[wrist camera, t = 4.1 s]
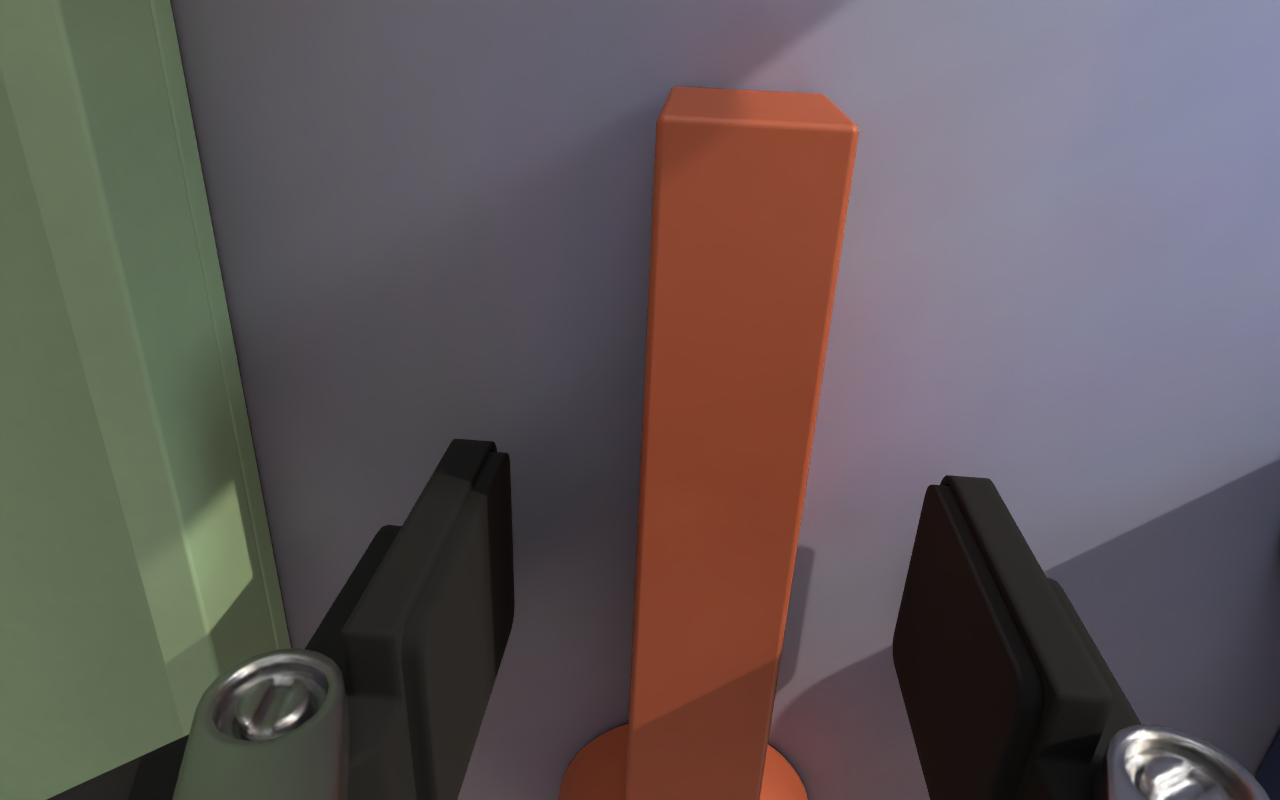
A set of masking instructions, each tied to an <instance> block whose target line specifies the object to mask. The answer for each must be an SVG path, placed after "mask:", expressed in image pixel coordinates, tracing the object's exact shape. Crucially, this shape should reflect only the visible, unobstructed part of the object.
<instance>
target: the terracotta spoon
mask: <svg viewBox="0 0 1280 800" xmlns="http://www.w3.org/2000/svg"><path fill="white" fill-rule="evenodd" d="M858 135H859V132H858V128H857V126H856V125H855V124H854V123H853V122H852V121H851V120H850V119H849V118H848V117H847V116H846V115H845V114H844V113H843V112H842V111H841V110H840V109H839V108H838V107H836V106H835V105H834V104H833V103H832V102H831V101H830V100H829V99H828V98H827V97H826V96H824V95H822V94H814V93H794V92H774V91H754V90H735V89H715V88H695V87H674V88H672V89H671V91H670V93H669V95H668V97H667V100H666V102H665V104H664V106H663V109H662V111H661V113H660V115H659V118H658V120H657V122H656V143H655V164H654V186H653V207H652V229H651V251H650V272H649V294H648V315H647V337H646V358H645V380H644V401H643V423H642V444H641V466H640V488H639V509H638V531H637V552H636V574H635V595H634V617H633V638H632V660H631V681H630V703H629V723H628V724H624V725H622V726H619V727H617V728H614V729H611V730H609V731H608V732H606V733H604V734H602V735H600V736H598V737H597V738H595V739H594V740H593V741H591V742H590V743H589V744H587V745H586V746H585V747H584V748H583V749H582V750H581V751H580V752H579V753H578V754H577V755H576V757H575V758H574V759H573V761H572V762H571V763H570V765H569V766H568V768H567V770H566V772H565V774H564V776H563V780H562V783H561V787H560V792H559V797H558V800H808V797H807V794H806V791H805V788H804V786H803V784H802V782H801V780H800V778H799V776H798V774H797V773H796V772H795V770H794V769H793V767H792V766H791V765H790V763H789V762H788V761H787V760H786V759H785V758H784V757H783V756H782V755H781V754H780V753H779V752H778V751H776V750H775V749H774V748H773V747H771V746H770V745H769V744H768V739H769V733H770V726H771V719H772V713H773V706H774V699H775V692H776V686H777V679H778V672H779V666H780V659H781V652H782V645H783V639H784V632H785V625H786V619H787V612H788V605H789V598H790V592H791V585H792V578H793V572H794V565H795V558H796V551H797V545H798V538H799V531H800V525H801V518H802V511H803V504H804V498H805V491H806V484H807V478H808V471H809V464H810V457H811V451H812V444H813V437H814V431H815V424H816V417H817V410H818V404H819V397H820V390H821V384H822V377H823V370H824V363H825V357H826V350H827V343H828V336H829V330H830V323H831V316H832V310H833V303H834V296H835V289H836V283H837V276H838V269H839V263H840V256H841V249H842V242H843V236H844V229H845V222H846V216H847V209H848V202H849V195H850V189H851V182H852V175H853V169H854V162H855V155H856V148H857V142H858Z"/></svg>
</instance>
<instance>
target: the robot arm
mask: <svg viewBox="0 0 1280 800" xmlns="http://www.w3.org/2000/svg"><path fill="white" fill-rule="evenodd" d="M513 617H514V573H513V543H512V512H511V482H510V459H509V455H508V453H502V452H497V449H496V445H495V443H494V442H491V441H477V440H464V439H454V440H453V441H452V442H451V444H450V445H449V447H448V449H447V451H446V452H445V454H444V456H443V457H442V459H441V461H440V462H439V464H438V466H437V468H436V469H435V471H434V473H433V474H432V476H431V478H430V480H429V481H428V483H427V485H426V486H425V488H424V490H423V492H422V493H421V495H420V497H419V498H418V500H417V502H416V504H415V505H414V507H413V509H412V510H411V512H410V514H409V516H408V517H407V519H406V521H405V522H404V524H403V526H393V525H386V526H384V527H382V528H381V529H380V530H379V532H378V533H377V534H376V536H375V537H374V539H373V540H372V542H371V544H370V545H369V547H368V549H367V550H366V552H365V553H364V555H363V557H362V558H361V560H360V561H359V563H358V565H357V566H356V568H355V569H354V571H353V573H352V574H351V576H350V577H349V579H348V581H347V582H346V584H345V585H344V587H343V589H342V590H341V592H340V593H339V595H338V597H337V598H336V600H335V601H334V603H333V605H332V606H331V608H330V610H329V611H328V613H327V614H326V616H325V618H324V619H323V621H322V622H321V624H320V626H319V627H318V629H317V630H316V632H315V634H314V635H313V637H312V638H311V640H310V642H309V643H308V645H307V646H306V648H305V649H279V650H275V651H271V652H267V653H262V654H258V655H256V656H253V657H251V658H249V659H247V660H244V661H242V662H240V663H238V664H236V665H234V666H233V667H231V668H230V669H228V670H227V671H226V672H224V673H223V674H221V675H220V676H218V677H217V678H216V679H215V680H214V682H213V683H212V684H211V685H210V686H209V687H208V688H207V689H206V690H205V691H204V693H203V695H202V697H201V699H200V701H199V703H198V705H197V707H196V710H195V714H194V717H193V721H192V725H191V729H190V733H189V734H188V735H186V736H184V737H182V738H179V739H177V740H175V741H173V742H171V743H169V744H166V745H164V746H162V747H160V748H158V749H155V750H153V751H151V752H149V753H147V754H145V755H142V756H140V757H138V758H136V759H134V760H132V761H129V762H127V763H125V764H123V765H121V766H118V767H116V768H114V769H112V770H110V771H108V772H105V773H103V774H101V775H99V776H97V777H94V778H92V779H90V780H88V781H86V782H84V783H81V784H79V785H77V786H75V787H73V788H70V789H68V790H66V791H64V792H62V793H60V794H57V795H55V796H53V797H51V798H49V799H46V800H457V798H458V795H459V792H460V789H461V786H462V783H463V780H464V776H465V773H466V770H467V767H468V764H469V761H470V758H471V754H472V751H473V748H474V745H475V742H476V739H477V736H478V732H479V729H480V726H481V723H482V720H483V717H484V714H485V711H486V707H487V704H488V701H489V698H490V695H491V692H492V689H493V685H494V682H495V679H496V676H497V673H498V670H499V667H500V663H501V660H502V657H503V654H504V651H505V648H506V645H507V641H508V638H509V635H510V632H511V628H512V624H513ZM893 660H894V665H895V669H896V673H897V677H898V680H899V684H900V688H901V692H902V695H903V699H904V703H905V707H906V710H907V714H908V718H909V722H910V725H911V729H912V733H913V737H914V740H915V744H916V748H917V752H918V755H919V759H920V763H921V766H922V770H923V774H924V778H925V781H926V785H927V789H928V793H929V796H930V800H1270V799H1269V797H1268V795H1267V793H1266V791H1265V790H1264V788H1263V787H1262V786H1261V785H1260V784H1259V782H1258V781H1257V780H1256V779H1255V778H1254V776H1253V775H1252V774H1251V773H1250V772H1249V771H1248V770H1247V769H1246V768H1245V767H1243V766H1242V765H1241V764H1240V763H1239V762H1237V761H1236V760H1235V759H1234V758H1232V757H1231V756H1230V755H1229V754H1227V753H1226V752H1224V751H1222V750H1221V749H1219V748H1217V747H1216V746H1214V745H1212V744H1211V743H1209V742H1207V741H1206V740H1204V739H1201V738H1199V737H1196V736H1194V735H1191V734H1189V733H1186V732H1184V731H1181V730H1178V729H1174V728H1169V727H1164V726H1160V725H1142V724H1141V722H1140V721H1139V719H1138V717H1137V716H1136V714H1135V712H1134V710H1133V709H1132V707H1131V705H1130V704H1129V702H1128V700H1127V698H1126V697H1125V695H1124V693H1123V692H1122V690H1121V688H1120V686H1119V685H1118V683H1117V681H1116V680H1115V678H1114V676H1113V674H1112V673H1111V671H1110V669H1109V668H1108V666H1107V664H1106V662H1105V661H1104V659H1103V657H1102V656H1101V654H1100V652H1099V650H1098V649H1097V647H1096V645H1095V644H1094V642H1093V640H1092V638H1091V637H1090V635H1089V633H1088V631H1087V630H1086V628H1085V626H1084V625H1083V623H1082V621H1081V619H1080V618H1079V616H1078V614H1077V613H1076V611H1075V609H1074V607H1073V606H1072V604H1071V602H1070V601H1069V599H1068V597H1067V595H1066V594H1065V592H1064V590H1063V589H1062V587H1061V586H1060V585H1059V584H1058V583H1057V581H1055V580H1053V579H1050V578H1046V576H1045V574H1044V572H1043V571H1042V569H1041V567H1040V565H1039V564H1038V562H1037V560H1036V558H1035V556H1034V555H1033V553H1032V551H1031V549H1030V548H1029V546H1028V544H1027V542H1026V541H1025V539H1024V537H1023V535H1022V533H1021V532H1020V530H1019V528H1018V526H1017V525H1016V523H1015V521H1014V519H1013V518H1012V516H1011V514H1010V512H1009V511H1008V509H1007V507H1006V505H1005V503H1004V502H1003V500H1002V498H1001V496H1000V495H999V493H998V491H997V489H996V488H995V486H994V484H993V482H992V481H991V480H990V479H987V478H975V477H961V476H948V475H946V476H945V477H944V478H943V480H942V481H941V484H940V485H930V486H928V488H927V490H926V494H925V498H924V502H923V507H922V511H921V516H920V520H919V525H918V529H917V534H916V538H915V542H914V547H913V551H912V556H911V560H910V565H909V569H908V574H907V578H906V583H905V587H904V592H903V596H902V601H901V605H900V610H899V614H898V619H897V623H896V628H895V632H894V637H893Z"/></svg>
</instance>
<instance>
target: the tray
mask: <svg viewBox="0 0 1280 800" xmlns="http://www.w3.org/2000/svg"><path fill="white" fill-rule="evenodd" d="M279 649H291V646H290V640H289V635H288V629H287V624H286V619H285V613H284V608H283V603H282V597H281V592H280V587H279V581H278V576H277V571H276V565H275V560H274V554H273V549H272V544H271V538H270V533H269V528H268V522H267V517H266V512H265V506H264V501H263V496H262V490H261V485H260V479H259V474H258V469H257V463H256V458H255V453H254V447H253V442H252V437H251V431H250V426H249V420H248V415H247V410H246V404H245V399H244V394H243V388H242V383H241V378H240V372H239V367H238V362H237V356H236V351H235V345H234V340H233V335H232V329H231V324H230V319H229V313H228V308H227V303H226V297H225V292H224V287H223V281H222V276H221V270H220V265H219V260H218V254H217V249H216V244H215V238H214V233H213V228H212V222H211V217H210V212H209V206H208V201H207V195H206V190H205V185H204V179H203V174H202V169H201V163H200V158H199V153H198V147H197V142H196V136H195V131H194V126H193V120H192V115H191V110H190V104H189V99H188V94H187V88H186V83H185V78H184V72H183V67H182V61H181V56H180V51H179V45H178V40H177V35H176V29H175V24H174V19H173V13H172V8H171V3H170V0H0V800H46V799H49V798H51V797H53V796H55V795H57V794H60V793H62V792H64V791H66V790H68V789H70V788H73V787H75V786H77V785H79V784H81V783H84V782H86V781H88V780H90V779H92V778H94V777H97V776H99V775H101V774H103V773H105V772H108V771H110V770H112V769H114V768H116V767H118V766H121V765H123V764H125V763H127V762H129V761H132V760H134V759H136V758H138V757H140V756H142V755H145V754H147V753H149V752H151V751H153V750H155V749H158V748H160V747H162V746H164V745H166V744H169V743H171V742H173V741H175V740H177V739H179V738H182V737H184V736H186V735H188V734H189V733H190V729H191V725H192V721H193V717H194V714H195V710H196V707H197V705H198V703H199V701H200V699H201V697H202V695H203V693H204V691H205V690H206V689H207V688H208V687H209V686H210V685H211V684H212V683H213V682H214V680H215V679H216V678H217V677H218V676H220V675H221V674H223V673H224V672H226V671H227V670H228V669H230V668H231V667H233V666H234V665H236V664H238V663H240V662H242V661H244V660H247V659H249V658H251V657H253V656H256V655H258V654H262V653H267V652H271V651H275V650H279Z"/></svg>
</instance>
